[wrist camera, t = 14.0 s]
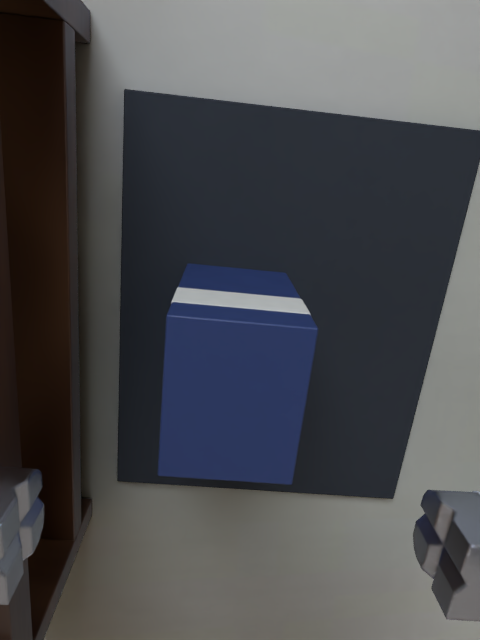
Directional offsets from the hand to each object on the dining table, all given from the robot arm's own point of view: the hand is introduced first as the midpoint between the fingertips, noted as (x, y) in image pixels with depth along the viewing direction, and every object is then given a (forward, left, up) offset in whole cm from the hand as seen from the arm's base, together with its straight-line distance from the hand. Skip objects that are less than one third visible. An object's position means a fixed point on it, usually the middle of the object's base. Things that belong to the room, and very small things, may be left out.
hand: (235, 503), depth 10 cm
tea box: (+1, 0, -13) cm, 13 cm away
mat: (+2, +2, -14) cm, 14 cm away
